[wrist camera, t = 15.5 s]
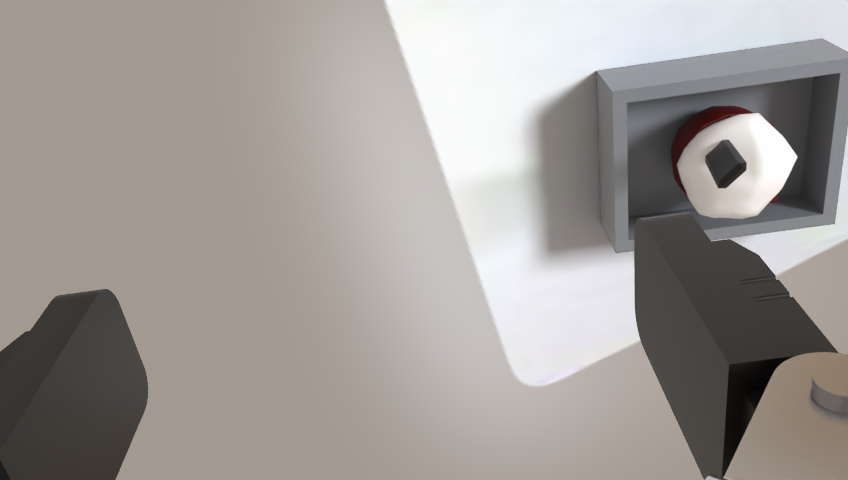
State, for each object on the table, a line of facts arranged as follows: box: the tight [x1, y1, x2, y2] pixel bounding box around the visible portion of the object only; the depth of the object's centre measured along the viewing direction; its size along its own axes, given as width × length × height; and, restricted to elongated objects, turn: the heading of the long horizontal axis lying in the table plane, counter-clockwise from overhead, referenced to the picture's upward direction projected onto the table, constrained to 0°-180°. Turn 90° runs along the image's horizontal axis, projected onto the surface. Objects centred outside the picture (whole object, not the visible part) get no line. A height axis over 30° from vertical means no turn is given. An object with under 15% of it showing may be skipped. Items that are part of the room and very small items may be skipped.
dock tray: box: [597, 39, 848, 253], centre depth 48 cm, size 11×14×4 cm
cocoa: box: [671, 106, 798, 219], centre depth 43 cm, size 10×6×12 cm, turn 29°
